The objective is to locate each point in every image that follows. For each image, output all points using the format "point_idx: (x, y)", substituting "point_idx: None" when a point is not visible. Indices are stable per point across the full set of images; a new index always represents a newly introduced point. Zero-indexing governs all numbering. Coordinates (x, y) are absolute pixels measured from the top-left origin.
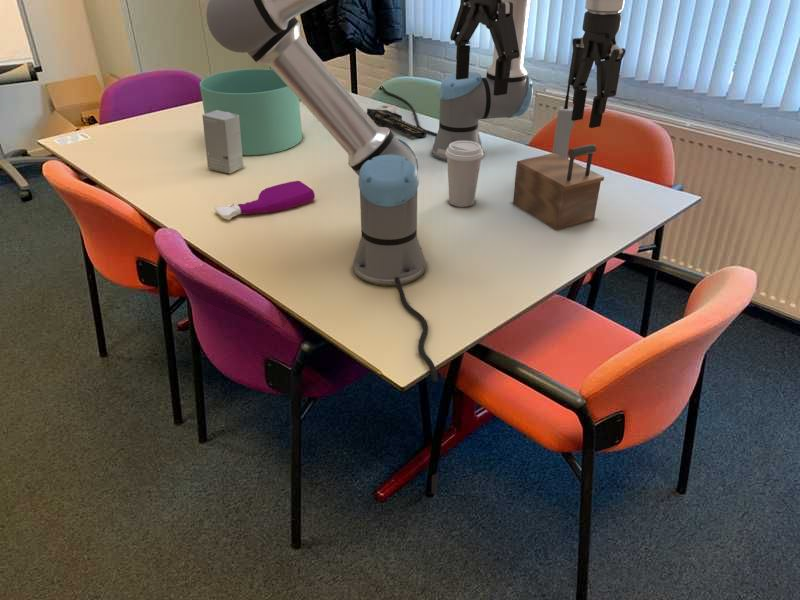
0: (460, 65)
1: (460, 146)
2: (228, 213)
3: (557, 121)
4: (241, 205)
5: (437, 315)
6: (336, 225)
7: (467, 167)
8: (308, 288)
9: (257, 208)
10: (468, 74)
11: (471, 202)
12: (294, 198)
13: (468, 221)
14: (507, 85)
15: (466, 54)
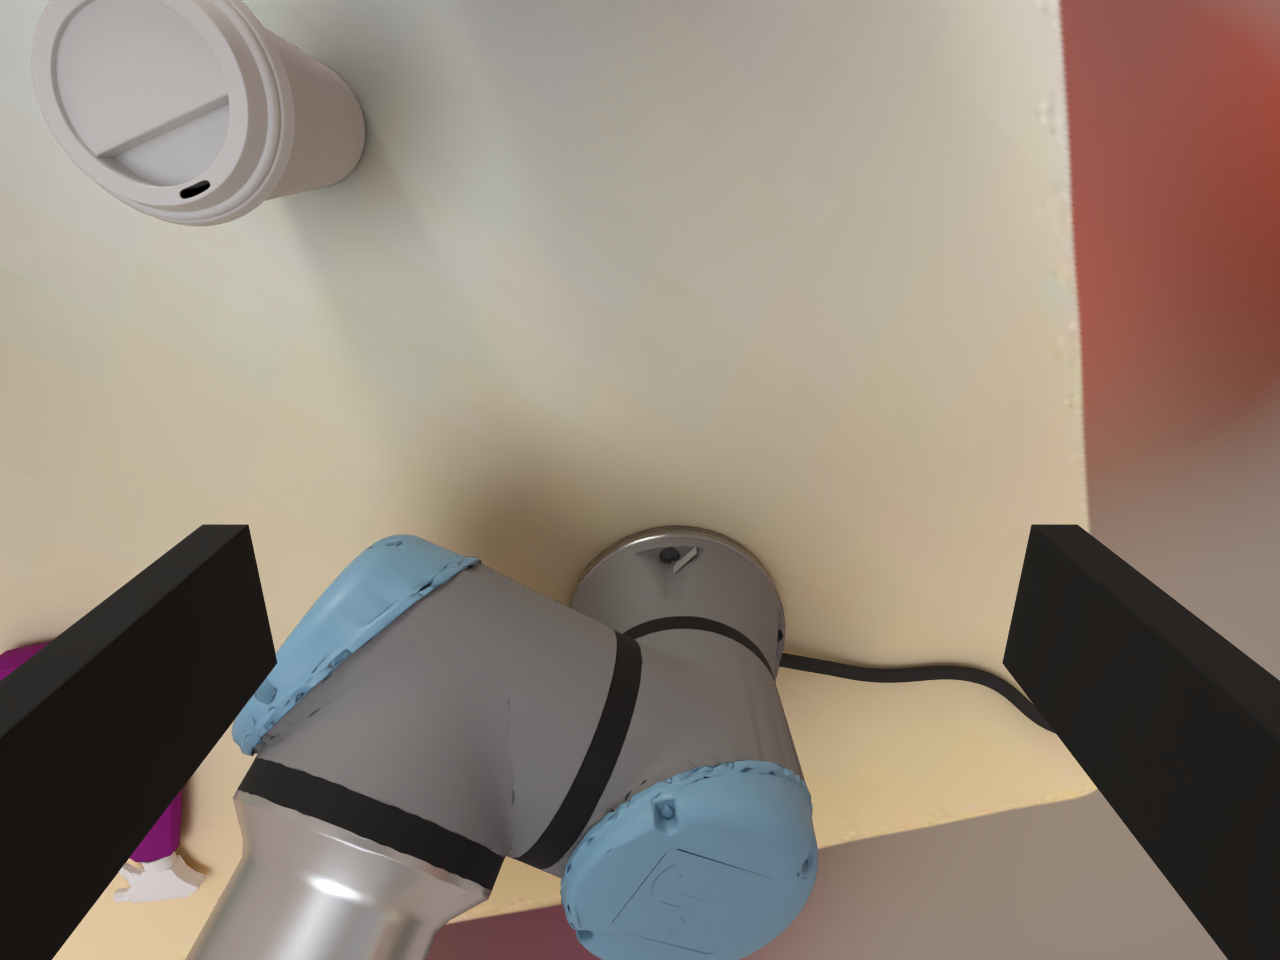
0: (179, 752)
1: (128, 115)
2: (186, 888)
3: None
4: (146, 856)
5: (955, 622)
6: None
7: (298, 144)
8: None
9: (172, 820)
10: (223, 547)
11: (357, 106)
12: None
13: (495, 211)
14: (1138, 576)
15: (43, 787)
